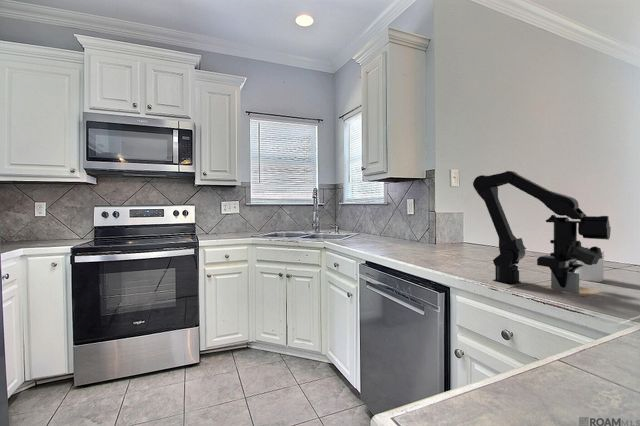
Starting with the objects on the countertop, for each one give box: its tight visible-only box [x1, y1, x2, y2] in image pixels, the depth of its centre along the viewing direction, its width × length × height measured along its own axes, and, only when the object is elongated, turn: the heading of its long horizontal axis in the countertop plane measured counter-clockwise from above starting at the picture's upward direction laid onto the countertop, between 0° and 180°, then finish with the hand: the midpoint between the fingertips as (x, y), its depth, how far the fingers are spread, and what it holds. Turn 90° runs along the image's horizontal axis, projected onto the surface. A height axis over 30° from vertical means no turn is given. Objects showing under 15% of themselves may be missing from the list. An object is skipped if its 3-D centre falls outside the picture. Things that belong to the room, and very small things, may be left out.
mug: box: [574, 247, 605, 283], centre depth 114 cm, size 9×12×11 cm
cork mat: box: [541, 284, 604, 298], centre depth 100 cm, size 12×11×1 cm
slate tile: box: [550, 270, 580, 294], centre depth 99 cm, size 7×2×6 cm, turn 25°
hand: (564, 286), depth 99 cm, fingers closed on slate tile, 2 cm apart
